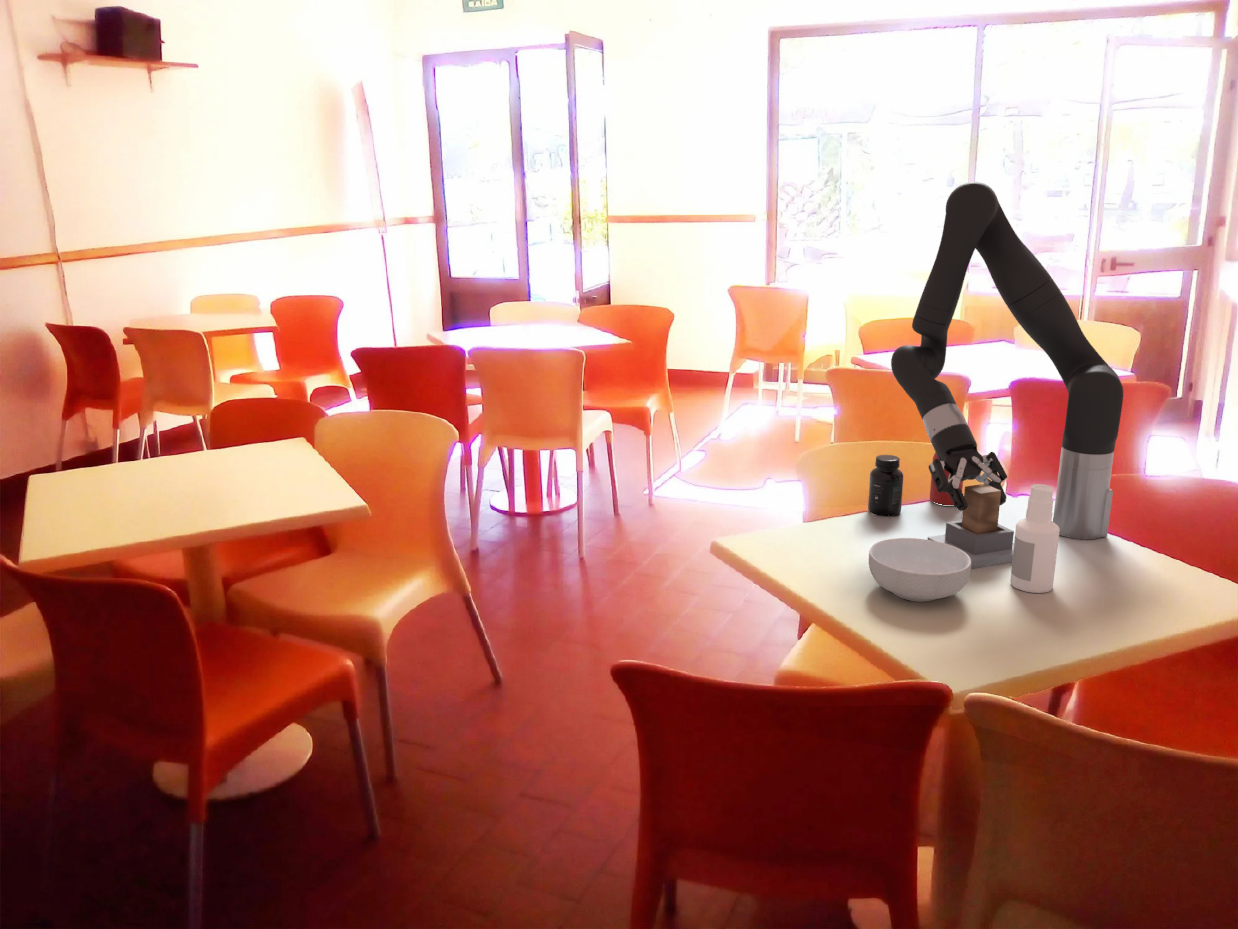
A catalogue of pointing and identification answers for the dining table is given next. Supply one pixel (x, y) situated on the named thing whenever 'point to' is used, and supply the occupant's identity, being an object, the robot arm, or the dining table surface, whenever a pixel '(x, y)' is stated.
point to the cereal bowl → (919, 568)
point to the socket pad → (979, 544)
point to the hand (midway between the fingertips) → (983, 506)
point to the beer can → (943, 496)
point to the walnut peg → (981, 509)
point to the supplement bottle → (886, 487)
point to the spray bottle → (1036, 544)
